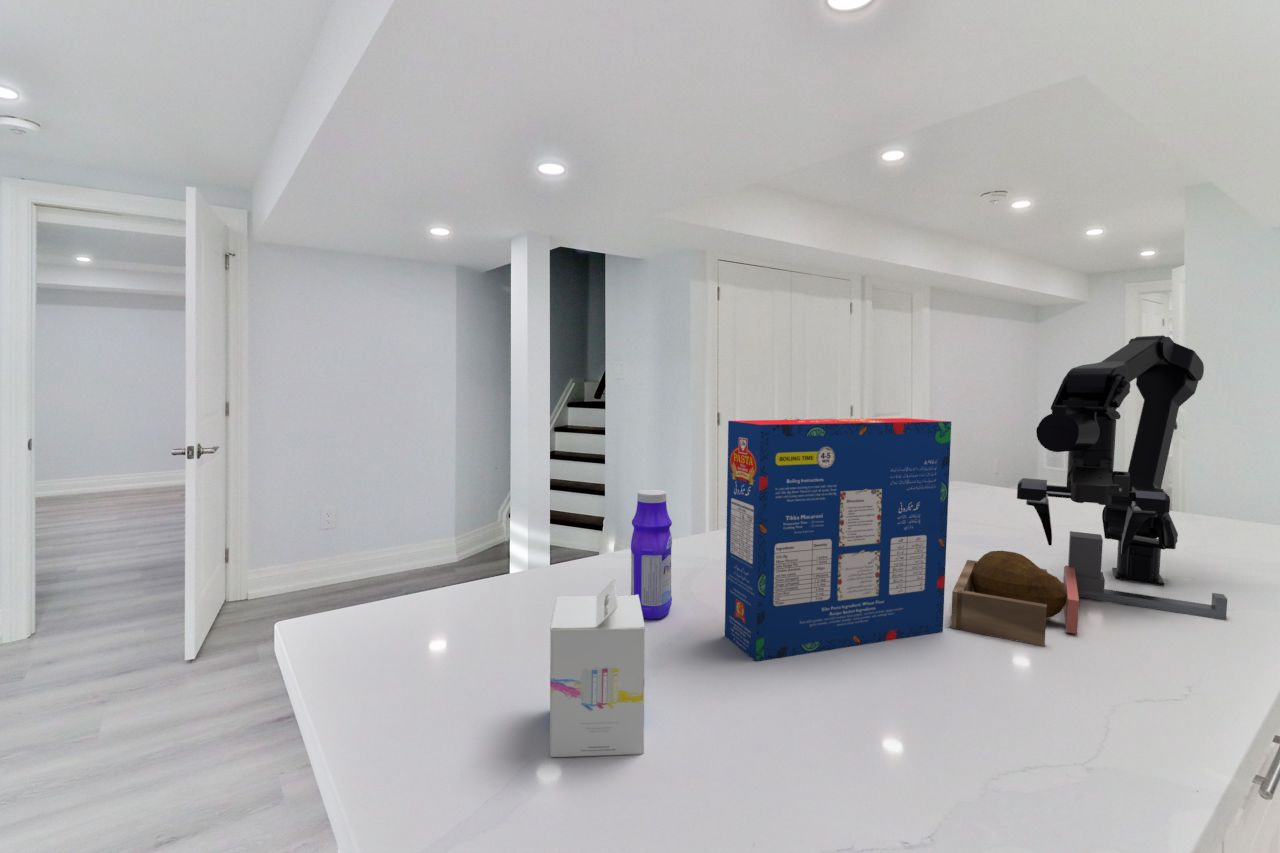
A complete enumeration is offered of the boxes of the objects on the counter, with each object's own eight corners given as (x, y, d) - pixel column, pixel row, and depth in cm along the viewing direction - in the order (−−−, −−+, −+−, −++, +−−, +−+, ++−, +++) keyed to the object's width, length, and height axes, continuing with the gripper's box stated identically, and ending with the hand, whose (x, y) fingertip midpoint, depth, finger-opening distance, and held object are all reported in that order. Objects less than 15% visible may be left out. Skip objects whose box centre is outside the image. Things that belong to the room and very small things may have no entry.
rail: (1037, 586, 102) (1037, 568, 102) (1221, 614, 90) (1223, 594, 89) (1036, 590, 100) (1037, 571, 100) (1225, 620, 88) (1227, 599, 87)
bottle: (666, 623, 85) (668, 496, 84) (626, 620, 86) (626, 494, 85) (674, 604, 92) (675, 487, 91) (636, 602, 93) (637, 486, 92)
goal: (966, 590, 99) (967, 559, 99) (1045, 603, 94) (1047, 571, 93) (950, 627, 84) (952, 591, 84) (1044, 646, 78) (1046, 607, 78)
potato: (1017, 631, 83) (1021, 566, 83) (954, 601, 95) (957, 544, 94) (1070, 626, 85) (1074, 563, 84) (1002, 597, 97) (1005, 541, 96)
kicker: (1062, 586, 101) (1066, 530, 100) (1101, 592, 98) (1104, 534, 98) (1065, 631, 82) (1069, 563, 82) (1113, 640, 79) (1117, 569, 79)
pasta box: (899, 611, 90) (906, 418, 88) (942, 632, 83) (951, 421, 81) (724, 636, 81) (728, 420, 79) (755, 662, 73) (760, 424, 72)
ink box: (554, 708, 63) (553, 577, 62) (637, 705, 63) (638, 575, 62) (548, 760, 54) (548, 608, 53) (645, 755, 55) (646, 606, 54)
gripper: (1017, 449, 94) (1012, 551, 95) (1179, 458, 84) (1172, 572, 85) (1020, 444, 104) (1016, 537, 105) (1167, 451, 93) (1160, 554, 94)
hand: (1085, 549), depth 97 cm, fingers open, 9 cm apart
